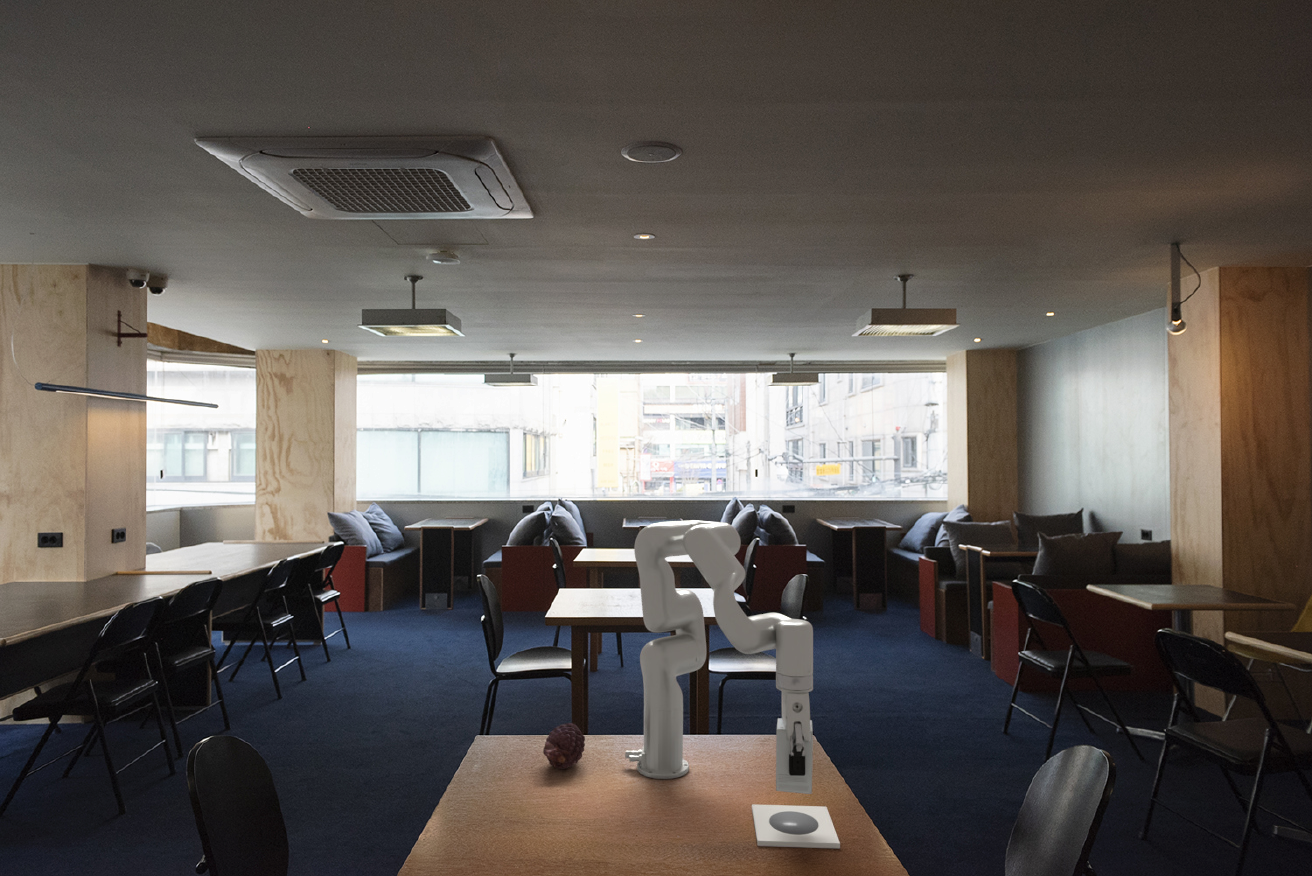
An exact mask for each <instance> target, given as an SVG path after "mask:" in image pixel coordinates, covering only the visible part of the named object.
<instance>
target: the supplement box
mask: <svg viewBox="0 0 1312 876" xmlns="http://www.w3.org/2000/svg"><path fill="white" fill-rule="evenodd" d="M810 731H811V740H810V742H808V741H805V739H804V750H805V775H804V776H791V775H790V774H789V754H790V742H789V741H788V740H787V738H786V730H785V727H784V725H783V722H782V717H781V718H779V717H778V718H777V723H776V732H775V733H776V735H775V737H776V738H775V739H776V743H775V744H776V745H775V748H776V751H775V757H776V758H775V760H776V761H775V791H776V792H782V793H783V792H785V793H795V794H804V795H805V794H806V795H809V794H810V795H811V794H813V761H814V760H813V759H814V758H813V757H814V756H813V752H814V751H813V750H814V749H813V748H814V747H813V745H814V743H813V741H814V738H813V720H811V719H810ZM802 736H803V734H802ZM792 739H795V730H794V732H793V734H792ZM794 745H796V744H795V743H793V747H794Z"/></svg>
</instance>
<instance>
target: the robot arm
mask: <svg viewBox="0 0 1312 876" xmlns="http://www.w3.org/2000/svg"><path fill="white" fill-rule="evenodd" d="M741 543H742V542H741V536H740V534H739V532H738V530H737V529H736V528H735V527H734V526H733V525H731V524H730V523H727V522H722V521H709V520H708V521H707V520H696V519H690V520H689V519H688V520H687V519H685V520H674V521H673V520H671V521H661V522H655V523H650V524H648V525H646V526H644V528H642V529H641V530H640V531H639V532H638V534H637V535H636V538H635V542H634V547H633V548H634V549H633V551H634V557H635V562H636V566H637V570H638V574H639V575H638V576H639V586H640V597H641V609H642V618H643V619H642V620H643V623H644V626H645V628H646V629H647V631H649V632H651V633H656V634H657V633H664V632H665V633H666V632H671V631H675V635H669V636H663V637H659V638H655V639H652V640H650V641H649V642H646V644H645V645H644V646H643V647H642V648H641V650H640V655H639V662H640V670H641V675H642V680H643V683H642V684H643V745H642V749H641V748H640V749H638V750H632V749H625V752H624V753H625V754H624V756H625V759H628V760H629V762H634V763H635V762H637V764H636V770H637V772H638V773H640V775H642V776H644V777H647V778H652V779H655V780H656V779H657V780H670V779H677V778H681V777H683V776H685V775H686V774H687V773H688V772H689V771H690V765H689V762H688V761H687V760H686V759H684V757H683V756H684V753H683V750H684V746H683V744H684V743H683V740H684V696H683V690H682V688H681V686H680V685H679V682H678V681H677V677H678V676H681V675H685V674H690V673H693V672H695V671H698V670H700V669H701V668H702V667H703V666H704V664H705V663H706V660H707V642H706V641H707V640H706V630H705V629H706V628H705V618H704V617H705V616H704V609H703V606H702V603H701V600H700V598H699V597H698V596H697V594H696V593H695V592H693V591H692V590H691V589H690V590H689V589H687V588H686V589H684V588H681V589H676V584H675V574H674V571H673V568H672V567H671V565H670V563H669V562H668V561H667V559H666V558H670V557H680V556H688V558H690V560H691V561H692V562H693V564H694V565H695V567H696V569H698V571H699V572H700V574H701V575H702V577H703V578H704V579H705V581H706V583H708V585H709V587H711V588H710V589H711V590H712V592H713V596H712V597H713V598H712V601H713V602H712V605H713V612H714V616H715V617H714V618H715V621H716V623H717V625H718V627H719V628H720V631H721V632H722V633H723V634H724V636H725V637H726V639H727V640H728V641H729V642H730V644H731V645H732V646H733V647H734V648H735V649H736V651H738V652H740V653H742V654H745V655H753V654H757V653H760V652H765V651H771V650H775V688H776V689H777V690H778V691H781V718H782V722H783V725H784V727H785V730H786V738H787V740H788V741H789V742H790V754H789V774H790V775H791V776H804V775H805V750H804V739H805V741H808V742H810V740H811V731H810V720H811V708H810V707H811V706H810V696H809V692H812V691H813V690H814V628H813V625H812V623H810V622H809V621H807V620H804V619H798V618H791V617H789V616H786V615H785V614H782V613H779V612H767V613H763V614H762V613H760V614H756V615H750V616H747V614H746V613H745V612H744V611H743V609H742V608H741V606H740V605H739V603H738V601H737V600H736V596H735V590H737V589H738V587H739V586H741V584H742V583H743V582H744V580H745V578H746V570H745V568H744V566H743V565H742V564H741V562H740V561H739V560H738V559H737V558H736V556H735V555H736V554H737V553H739V551H740V548H741ZM794 730H795V739H792V734H793V732H794ZM802 734H803V736H802ZM793 743H795V744H796V745H794V747H793Z"/></svg>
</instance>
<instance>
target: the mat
mask: <svg viewBox="0 0 1312 876" xmlns="http://www.w3.org/2000/svg"><path fill="white" fill-rule="evenodd" d="M751 814H752V819H753V827H754V831H755V838H756V844H757V846H758V847H780V848H781V847H783V848H787V847H788V848H809V849H810V848H811V849H812V848H817V849H841V842H840V840H839V837H838V834H837V832H836V829H835V827H834V824H833V820H832V818H831V815H830V813H829V810H828V807H827V806H818V805H817V806H815V805H812V806H811V805H790V804H789V805H786V804H785V805H784V804H783V805H781V804H756V803H755V804H751Z"/></svg>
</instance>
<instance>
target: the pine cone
mask: <svg viewBox="0 0 1312 876" xmlns="http://www.w3.org/2000/svg"><path fill="white" fill-rule="evenodd" d="M545 740H546V741H545V742H544V747H543V749H542V750H543V751H542V753H543V755H544V756H545V757H546V758H547V760H548V763H549V764H550V766H554V768H555V769H557V768H558V769H559V770H562V769H563V770H565V769H566V770H567V769H568V768H569V767H573V766H574V765H576V764H578V762H579V761H580V760H581V759H582V758H583V752H584V751H585V747H586V743H585V741H586V737H585V735H584V734H583V733H582V731H581V730H580V728H579V727H578V725H576V724H574V723H573V722H568V723H564V724H559V725H557V726H556V727H554V728H553V729H552V731H550V732H549V734H548V737H547V738H546V739H545Z"/></svg>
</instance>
